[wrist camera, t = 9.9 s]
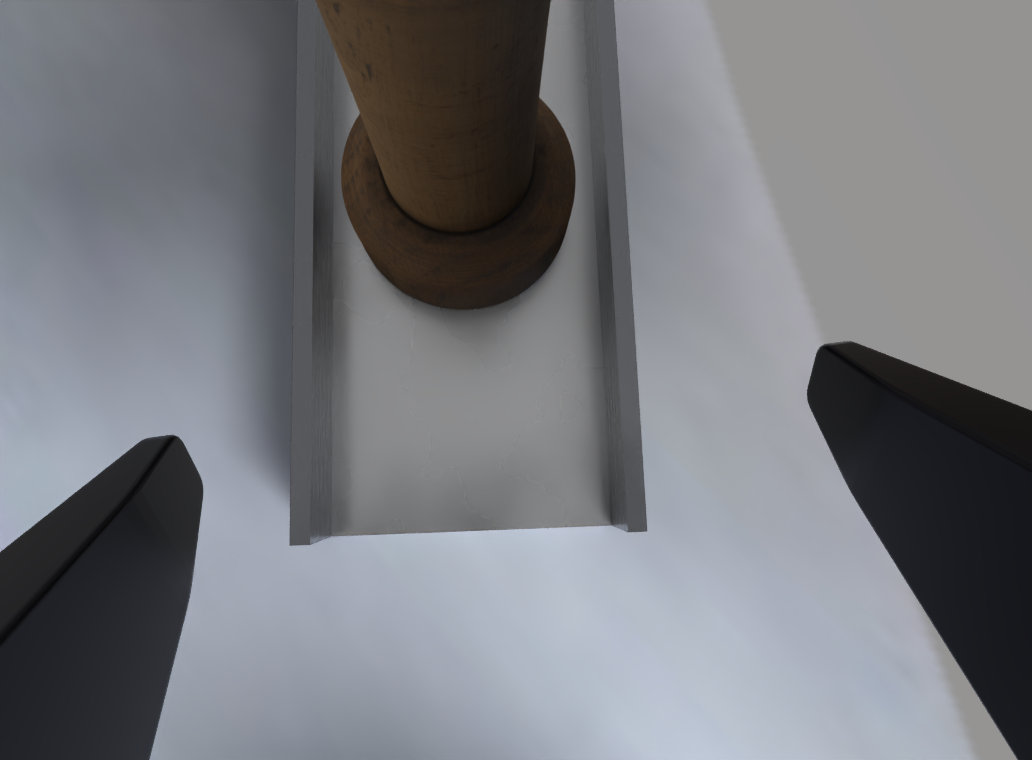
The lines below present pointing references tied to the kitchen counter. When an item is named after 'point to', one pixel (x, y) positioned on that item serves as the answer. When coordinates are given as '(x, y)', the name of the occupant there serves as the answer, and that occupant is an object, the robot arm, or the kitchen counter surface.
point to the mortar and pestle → (452, 145)
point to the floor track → (466, 338)
